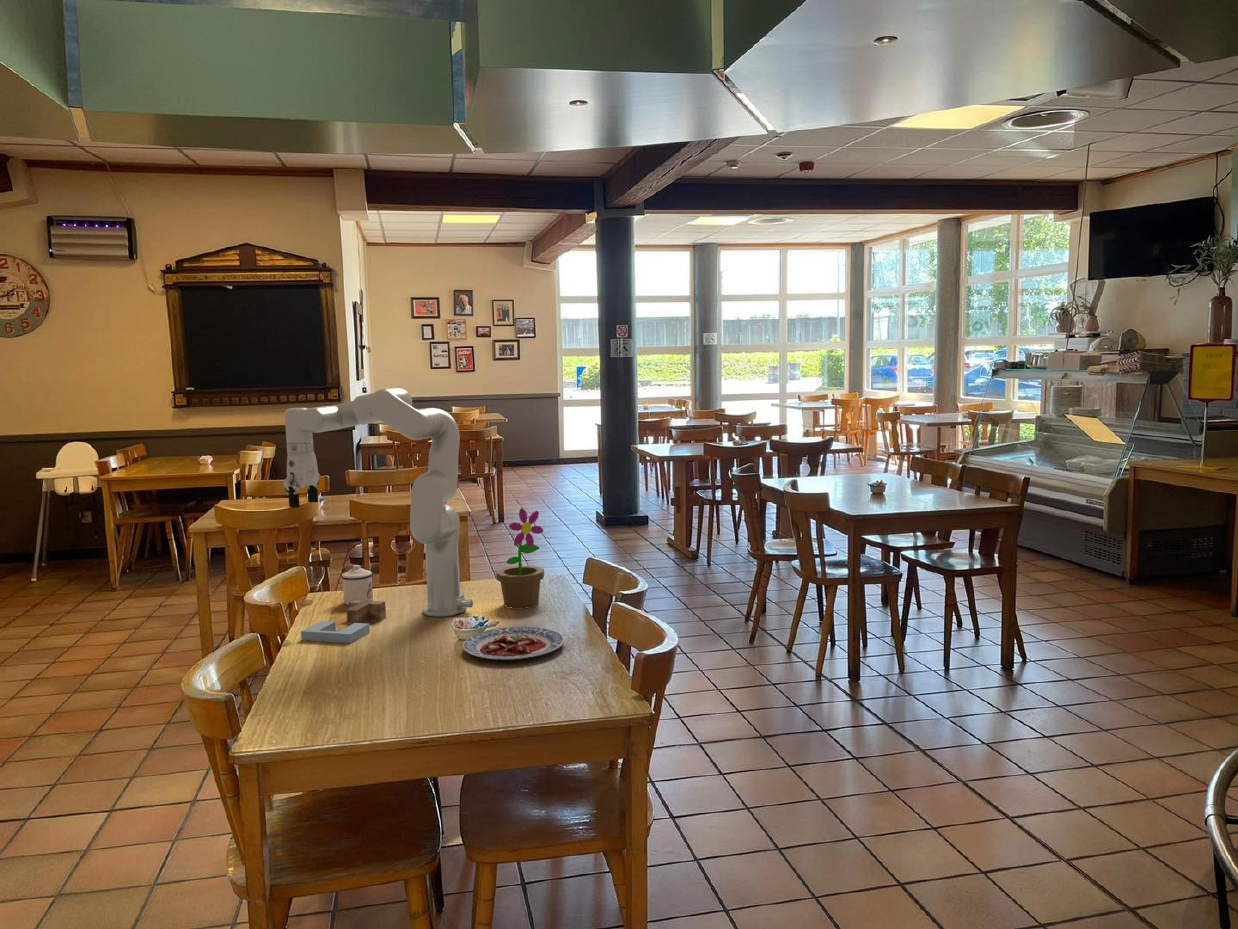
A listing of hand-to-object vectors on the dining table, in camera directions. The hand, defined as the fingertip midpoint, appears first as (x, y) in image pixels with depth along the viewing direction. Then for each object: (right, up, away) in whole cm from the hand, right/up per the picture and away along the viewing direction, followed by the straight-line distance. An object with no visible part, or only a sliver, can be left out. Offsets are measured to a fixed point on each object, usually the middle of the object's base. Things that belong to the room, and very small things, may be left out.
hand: (304, 504), depth 274 cm
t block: (+22, -33, -17) cm, 43 cm away
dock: (+19, -34, -29) cm, 49 cm away
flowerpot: (+66, -30, -2) cm, 73 cm away
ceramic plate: (+69, -35, -44) cm, 89 cm away
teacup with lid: (+15, -31, +6) cm, 34 cm away
